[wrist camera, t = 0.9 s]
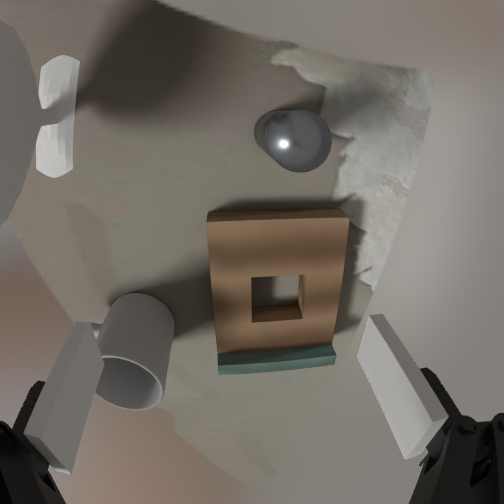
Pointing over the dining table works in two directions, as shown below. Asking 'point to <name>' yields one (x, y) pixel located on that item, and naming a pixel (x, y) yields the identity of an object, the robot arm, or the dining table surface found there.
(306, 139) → the grey metal cylinder
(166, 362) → the mug
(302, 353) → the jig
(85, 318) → the dining table surface
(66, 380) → the robot arm
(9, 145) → the heart sculpture
